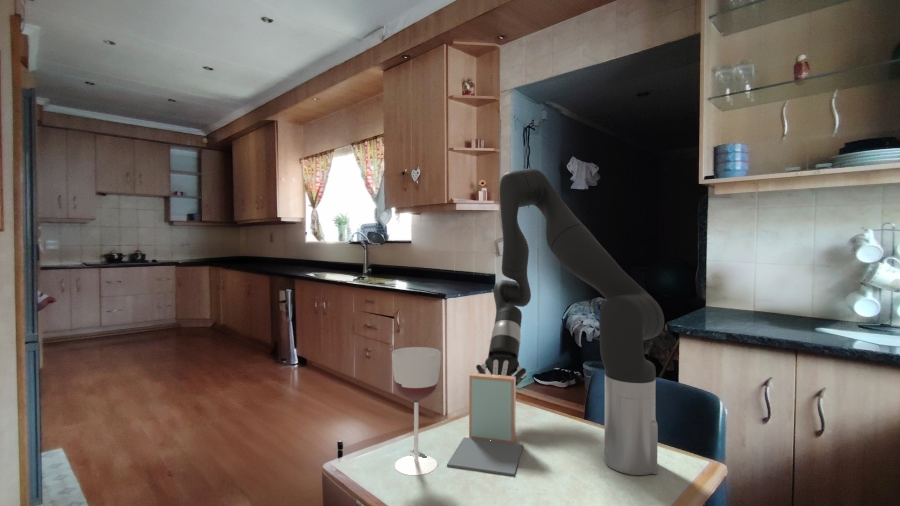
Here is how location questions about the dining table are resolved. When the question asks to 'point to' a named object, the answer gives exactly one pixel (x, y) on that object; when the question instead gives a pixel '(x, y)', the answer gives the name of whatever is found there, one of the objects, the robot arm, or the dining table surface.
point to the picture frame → (492, 407)
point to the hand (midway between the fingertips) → (496, 404)
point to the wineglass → (416, 395)
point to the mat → (486, 456)
